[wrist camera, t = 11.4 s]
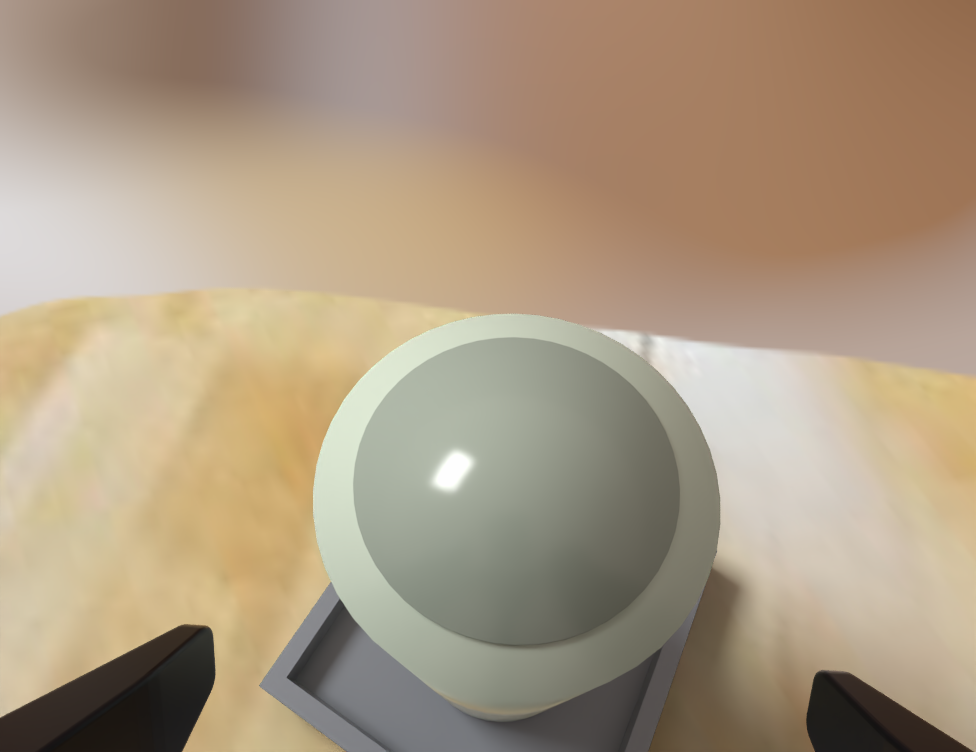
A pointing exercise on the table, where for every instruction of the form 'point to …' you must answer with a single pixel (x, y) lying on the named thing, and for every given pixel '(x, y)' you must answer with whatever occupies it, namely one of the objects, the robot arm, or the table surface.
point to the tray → (435, 722)
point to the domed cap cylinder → (516, 511)
